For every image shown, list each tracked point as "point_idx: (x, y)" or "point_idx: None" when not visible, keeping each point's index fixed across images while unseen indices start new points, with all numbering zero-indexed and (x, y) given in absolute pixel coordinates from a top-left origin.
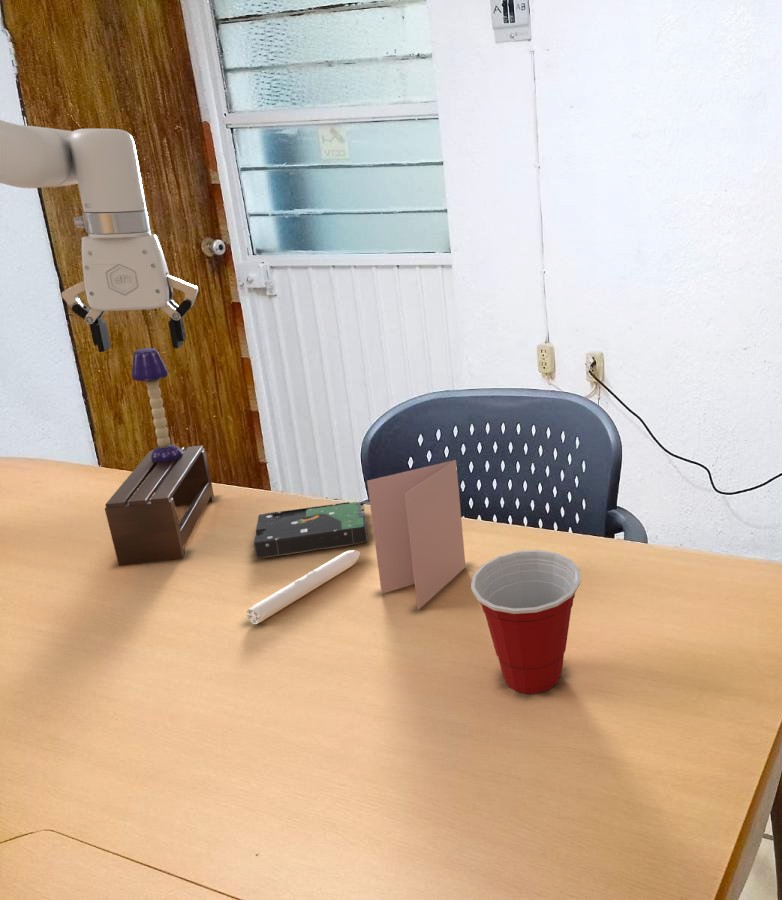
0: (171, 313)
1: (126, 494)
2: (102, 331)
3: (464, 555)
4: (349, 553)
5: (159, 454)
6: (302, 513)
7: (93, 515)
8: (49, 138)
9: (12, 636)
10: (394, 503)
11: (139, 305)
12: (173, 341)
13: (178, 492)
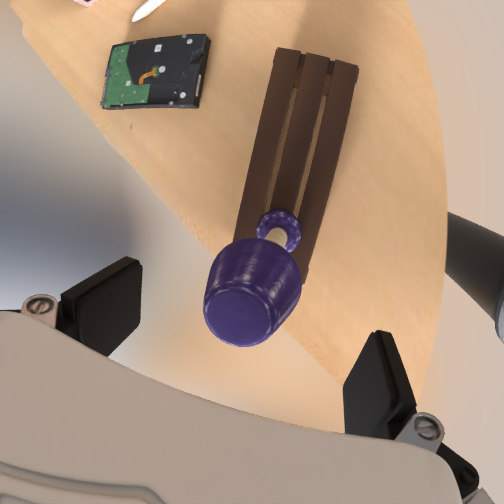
0: (40, 316)
1: (334, 87)
2: (373, 396)
3: (82, 4)
4: (138, 8)
5: (288, 217)
6: (151, 95)
7: (375, 261)
8: None
9: (409, 12)
10: None
11: (102, 372)
12: (124, 266)
13: None
